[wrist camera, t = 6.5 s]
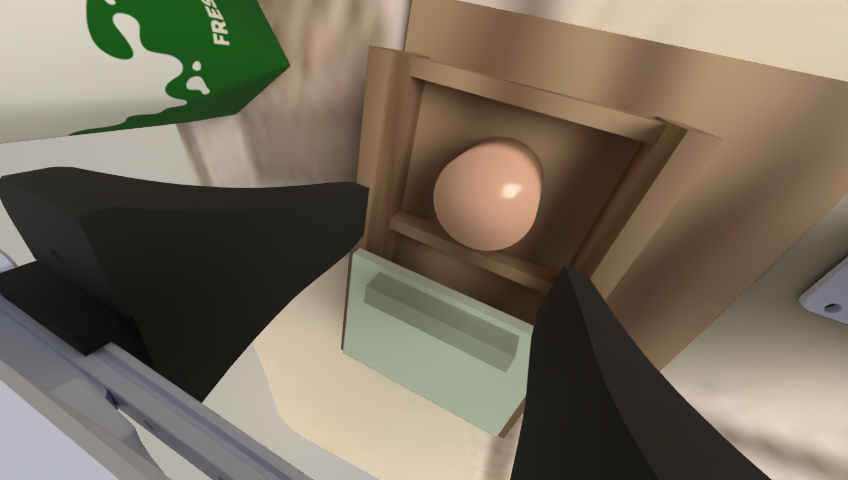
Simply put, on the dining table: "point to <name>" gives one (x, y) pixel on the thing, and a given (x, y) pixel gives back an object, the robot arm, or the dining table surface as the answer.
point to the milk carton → (129, 63)
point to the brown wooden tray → (599, 164)
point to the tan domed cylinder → (490, 194)
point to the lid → (437, 342)
